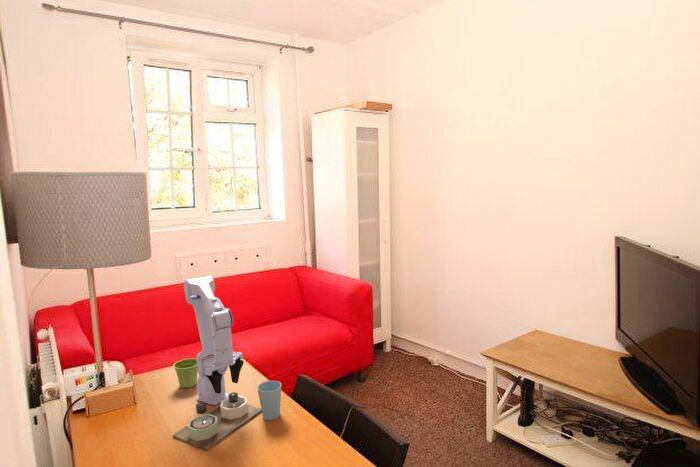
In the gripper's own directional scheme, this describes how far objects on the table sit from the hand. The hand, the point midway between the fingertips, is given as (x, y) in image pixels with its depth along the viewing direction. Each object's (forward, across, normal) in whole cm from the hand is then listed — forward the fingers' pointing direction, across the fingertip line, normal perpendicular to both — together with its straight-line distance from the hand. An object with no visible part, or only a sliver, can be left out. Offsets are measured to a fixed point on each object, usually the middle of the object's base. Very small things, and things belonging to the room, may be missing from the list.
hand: (226, 387), depth 143 cm
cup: (+11, +7, -12) cm, 18 cm away
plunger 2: (+10, +2, 0) cm, 10 cm away
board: (+10, -4, 0) cm, 11 cm away
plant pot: (+11, +10, +32) cm, 35 cm away
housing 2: (+10, +2, 0) cm, 11 cm away
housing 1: (+10, -10, 0) cm, 15 cm away
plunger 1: (+7, -11, 0) cm, 13 cm away
